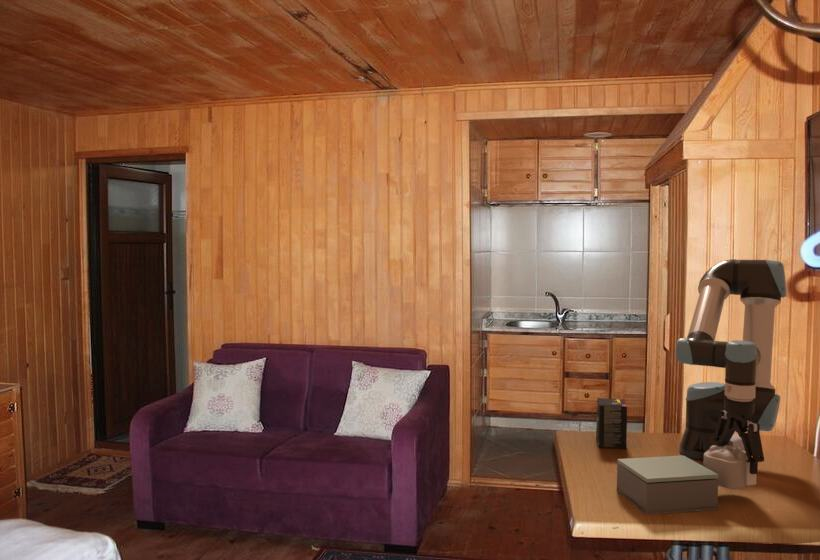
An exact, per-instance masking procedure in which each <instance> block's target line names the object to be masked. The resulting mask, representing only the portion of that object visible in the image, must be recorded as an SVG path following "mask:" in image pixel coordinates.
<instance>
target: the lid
mask: <svg viewBox="0 0 820 560" xmlns="http://www.w3.org/2000/svg"><path fill="white" fill-rule="evenodd" d="M616 461H617V463H619V464H620V465H622V466H623V467H625V468H626V469H628V470H629V471H630V472H632V473H633V474H635V475H636V476H638V477H639V478H641V479H642V480H644V481H645V482H647V483H651V482H667V481H683V480H699V479H715V478H718V476H719V474H717V473H715V472H713V471H711V470H709V469H708V468H706V467H704V466H703V464H700V463H699V462H696V461H695V460H694V459H692V458H689V457H687V456H684V455H682V454H681V455H669V456H668V455H667V456H666V455H665V456H652V457H632V458H631V457H627V458H617V460H616Z"/></svg>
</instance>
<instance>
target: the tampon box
mask: <svg viewBox="0 0 820 560" xmlns="http://www.w3.org/2000/svg"><path fill="white" fill-rule="evenodd" d="M627 423H628V407H627V404H626V402H625V399H623V398H619V399H618V398H603V397H597V401H596V430H595V433H596V435H595V438H596V439H595V440H596V443H597V446H598V447H599V448H604V449H605V448H606V449H618V448H619V449H621V450H627V441H628V440H627V437H628V435H627V431H628V429H627V428H628V424H627Z"/></svg>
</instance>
